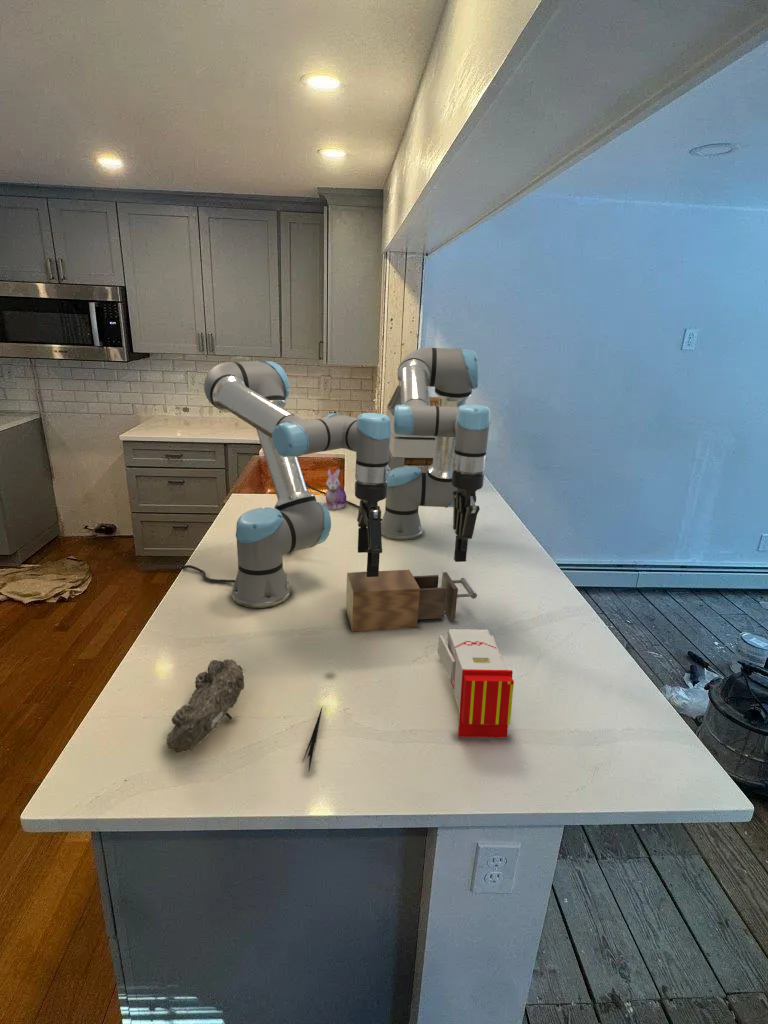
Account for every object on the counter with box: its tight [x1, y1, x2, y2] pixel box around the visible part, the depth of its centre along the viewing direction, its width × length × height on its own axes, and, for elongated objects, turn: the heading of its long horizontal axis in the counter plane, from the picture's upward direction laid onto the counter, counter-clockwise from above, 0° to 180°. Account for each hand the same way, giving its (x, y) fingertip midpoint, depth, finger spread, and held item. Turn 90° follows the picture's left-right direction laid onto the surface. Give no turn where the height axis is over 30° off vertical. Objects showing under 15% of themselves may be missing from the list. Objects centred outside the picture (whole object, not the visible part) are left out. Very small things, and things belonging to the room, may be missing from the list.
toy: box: [437, 628, 515, 738], centre depth 117 cm, size 12×13×30 cm
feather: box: [301, 673, 332, 771], centre depth 108 cm, size 2×28×2 cm
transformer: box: [385, 384, 439, 472], centre depth 268 cm, size 34×33×41 cm
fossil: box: [166, 658, 245, 754], centre depth 106 cm, size 22×10×15 cm
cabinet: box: [345, 569, 420, 633], centre depth 143 cm, size 16×11×11 cm, turn 102°
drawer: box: [413, 571, 478, 621], centre depth 146 cm, size 21×9×9 cm, turn 102°
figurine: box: [325, 468, 347, 510], centre depth 222 cm, size 9×10×15 cm
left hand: (367, 563), depth 139 cm, fingers open, 13 cm apart
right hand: (459, 560), depth 144 cm, fingers closed
